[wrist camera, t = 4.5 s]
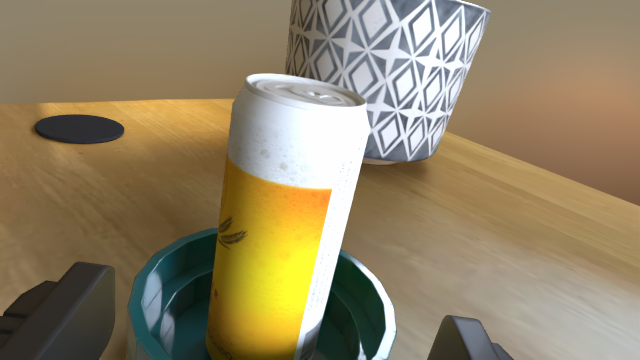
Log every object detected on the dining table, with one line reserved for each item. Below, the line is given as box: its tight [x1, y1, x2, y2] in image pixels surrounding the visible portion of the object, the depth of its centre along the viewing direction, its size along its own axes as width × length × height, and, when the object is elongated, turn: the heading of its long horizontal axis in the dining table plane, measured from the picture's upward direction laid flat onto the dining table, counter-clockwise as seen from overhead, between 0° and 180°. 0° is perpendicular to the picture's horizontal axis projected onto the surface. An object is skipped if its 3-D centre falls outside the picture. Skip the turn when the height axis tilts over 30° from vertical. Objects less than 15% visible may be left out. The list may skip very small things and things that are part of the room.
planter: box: [285, 0, 491, 165], centre depth 60 cm, size 26×26×22 cm
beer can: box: [206, 74, 370, 360], centre depth 21 cm, size 6×6×15 cm
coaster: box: [35, 115, 124, 143], centre depth 49 cm, size 9×9×1 cm
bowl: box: [127, 228, 397, 360], centre depth 23 cm, size 14×14×4 cm
